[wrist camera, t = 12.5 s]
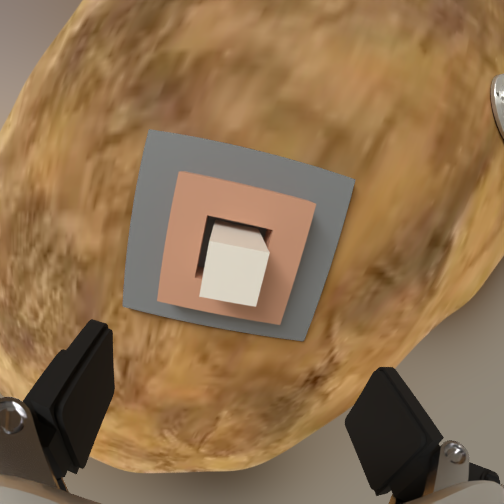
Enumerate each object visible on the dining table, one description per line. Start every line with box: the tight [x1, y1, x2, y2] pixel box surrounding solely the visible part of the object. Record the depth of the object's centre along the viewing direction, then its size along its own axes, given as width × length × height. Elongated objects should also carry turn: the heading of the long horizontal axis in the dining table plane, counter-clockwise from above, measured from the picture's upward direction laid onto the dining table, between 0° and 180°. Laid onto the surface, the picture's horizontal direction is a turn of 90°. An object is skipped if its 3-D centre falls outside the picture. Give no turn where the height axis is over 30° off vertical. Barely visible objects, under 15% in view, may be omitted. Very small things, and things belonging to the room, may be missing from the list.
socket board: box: [123, 129, 355, 341], centre depth 26 cm, size 20×18×4 cm
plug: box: [199, 220, 270, 307], centre depth 23 cm, size 4×4×8 cm
